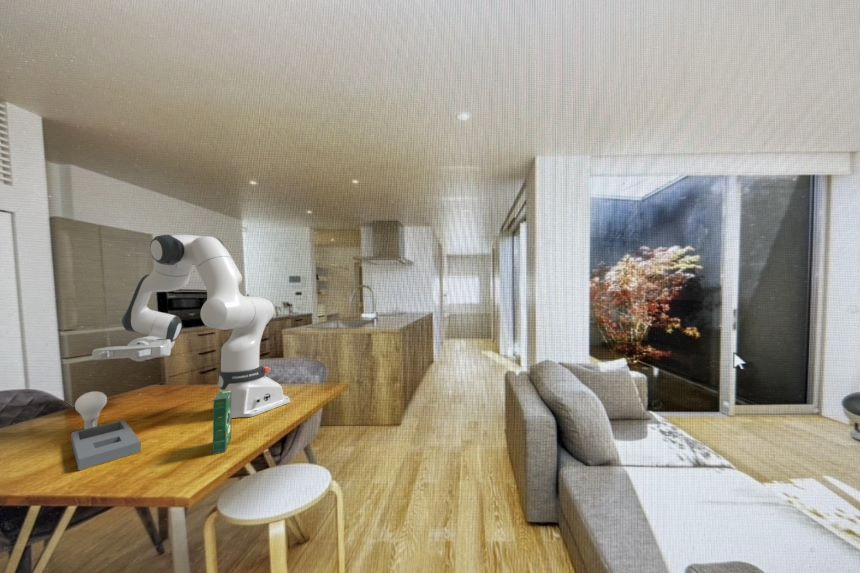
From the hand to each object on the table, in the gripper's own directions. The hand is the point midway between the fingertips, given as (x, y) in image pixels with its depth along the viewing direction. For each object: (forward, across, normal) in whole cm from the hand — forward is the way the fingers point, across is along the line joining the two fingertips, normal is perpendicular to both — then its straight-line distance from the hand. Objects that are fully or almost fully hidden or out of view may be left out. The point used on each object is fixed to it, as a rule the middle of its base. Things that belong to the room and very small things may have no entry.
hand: (119, 355), depth 100 cm
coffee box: (+40, +42, +20) cm, 61 cm away
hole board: (+28, +12, +20) cm, 36 cm away
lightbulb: (+12, 0, +20) cm, 23 cm away
